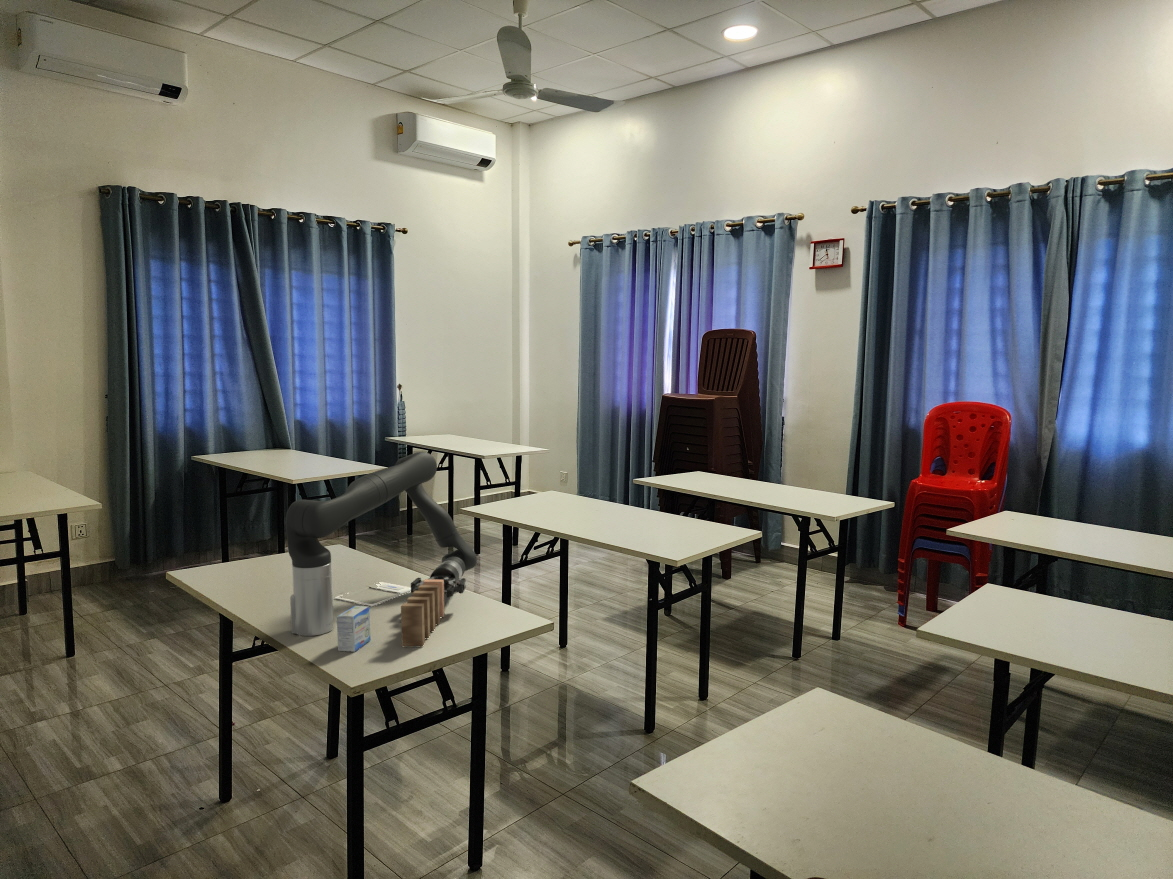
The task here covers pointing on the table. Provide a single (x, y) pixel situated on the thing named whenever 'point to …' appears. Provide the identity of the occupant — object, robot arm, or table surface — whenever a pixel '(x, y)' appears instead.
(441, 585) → the tile
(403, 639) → the tile
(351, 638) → the medicine box
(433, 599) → the tile
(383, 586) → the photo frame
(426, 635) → the tile
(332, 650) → the table surface
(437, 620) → the tile
